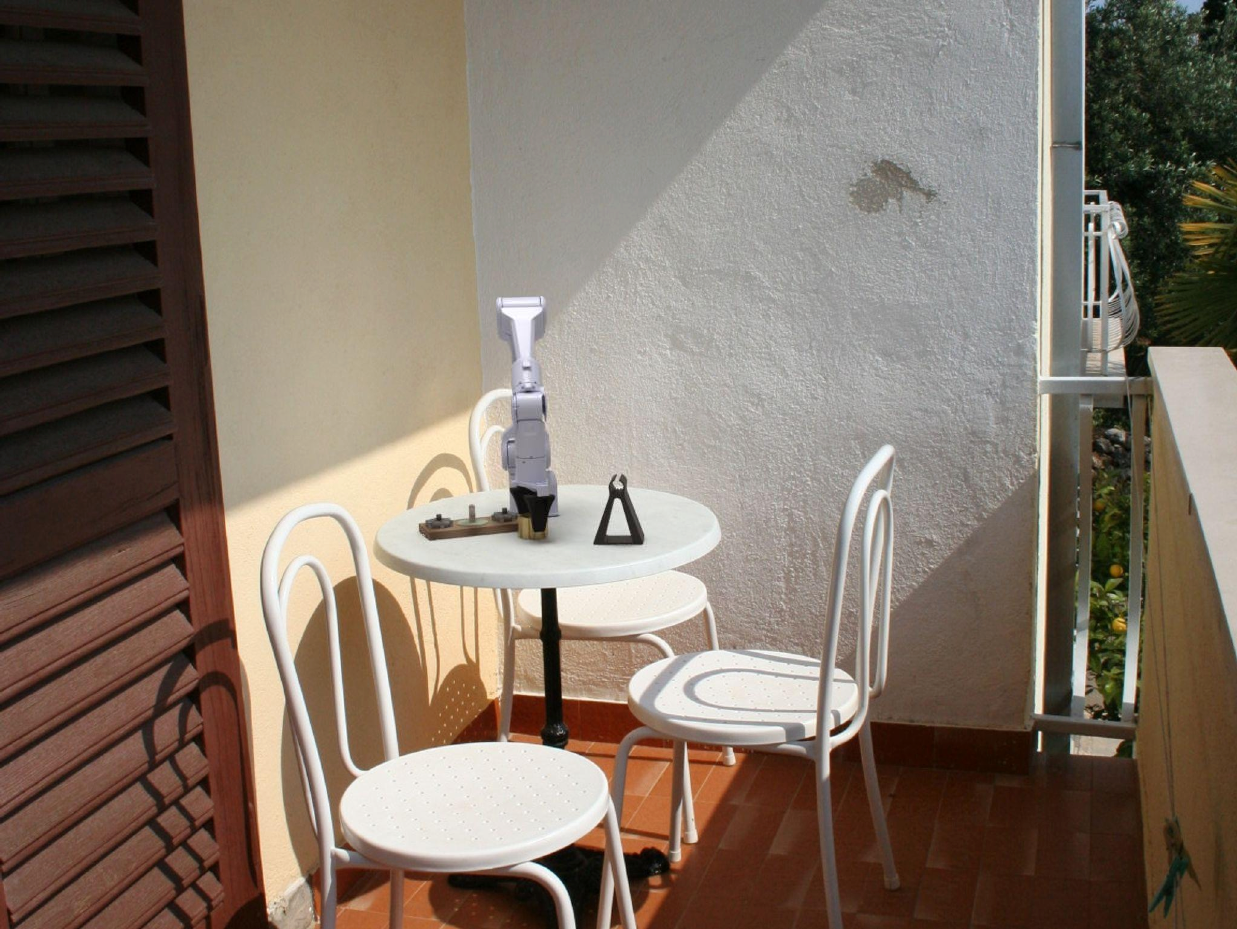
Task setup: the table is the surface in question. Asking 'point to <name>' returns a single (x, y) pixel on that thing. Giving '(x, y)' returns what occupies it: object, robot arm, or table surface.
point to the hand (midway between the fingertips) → (533, 527)
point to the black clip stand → (630, 515)
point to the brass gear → (529, 528)
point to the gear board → (469, 525)
